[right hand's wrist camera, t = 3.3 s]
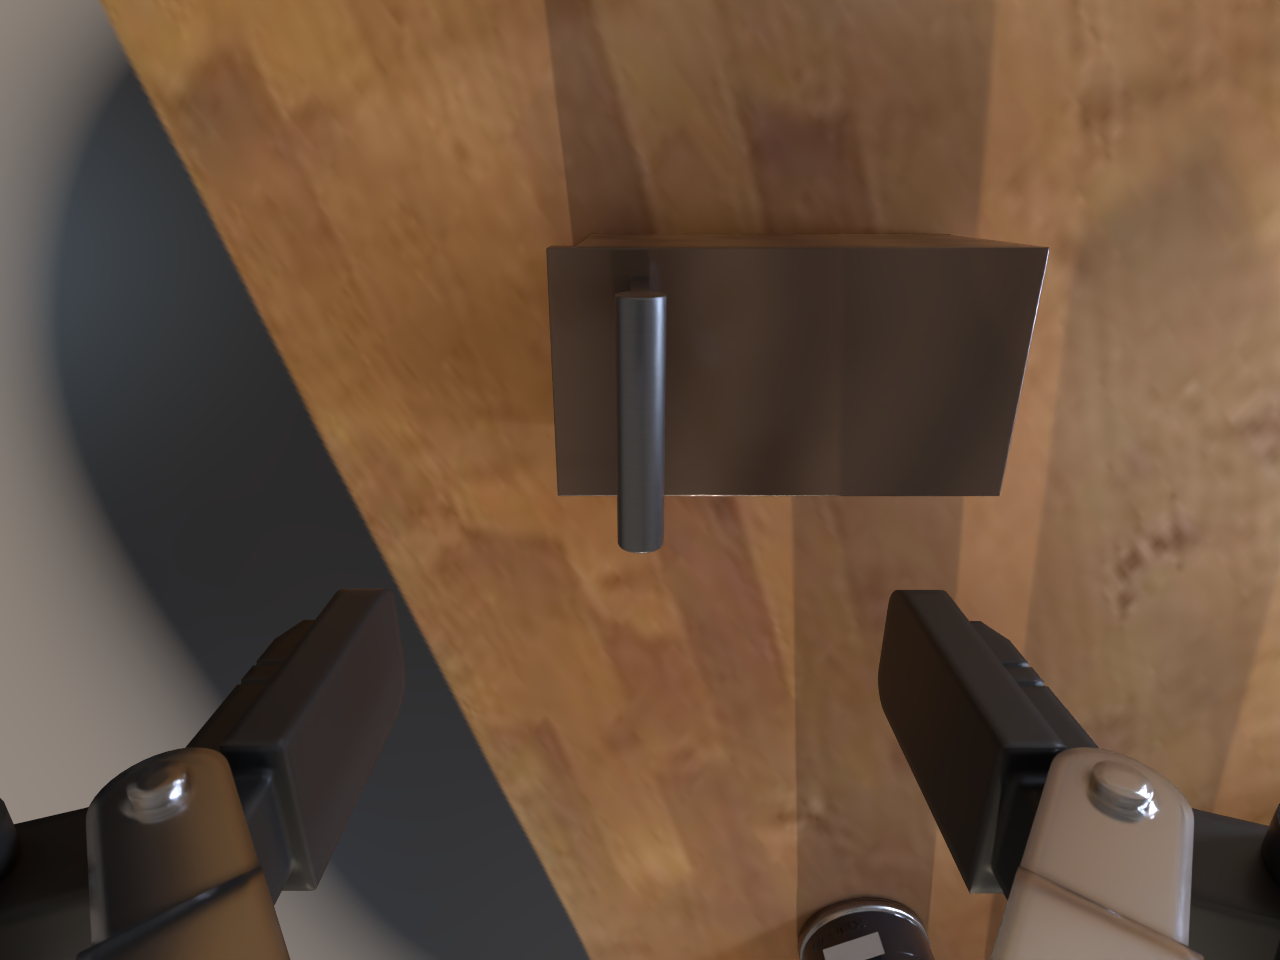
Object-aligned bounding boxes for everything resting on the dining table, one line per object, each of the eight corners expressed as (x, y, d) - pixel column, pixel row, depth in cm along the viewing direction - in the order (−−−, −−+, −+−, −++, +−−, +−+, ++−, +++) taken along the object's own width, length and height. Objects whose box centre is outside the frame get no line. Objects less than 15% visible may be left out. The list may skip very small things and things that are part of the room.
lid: (560, 487, 30) (534, 578, 23) (549, 245, 27) (515, 263, 19) (989, 487, 30) (1098, 578, 23) (1036, 245, 27) (1183, 263, 19)
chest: (594, 426, 38) (582, 487, 30) (589, 234, 35) (574, 245, 27) (916, 426, 38) (989, 487, 30) (945, 233, 35) (1035, 245, 27)
